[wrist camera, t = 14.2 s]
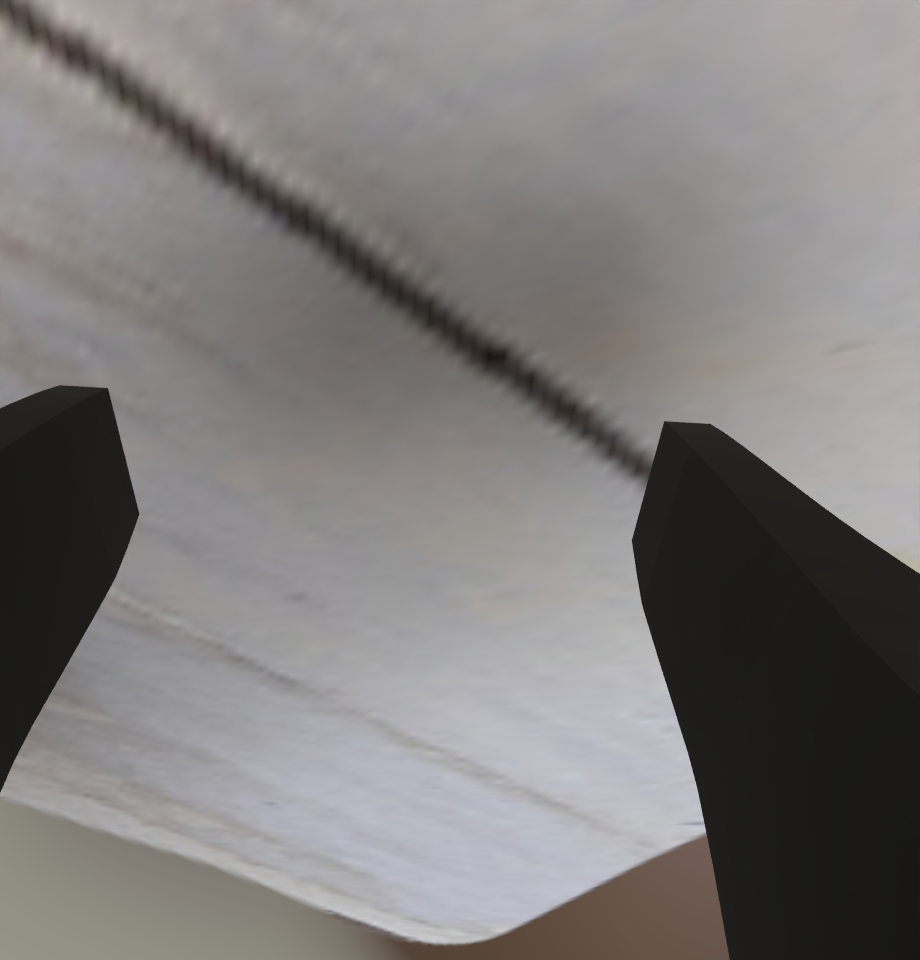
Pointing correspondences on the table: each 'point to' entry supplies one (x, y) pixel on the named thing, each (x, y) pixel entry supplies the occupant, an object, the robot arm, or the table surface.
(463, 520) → the table surface
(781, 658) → the robot arm
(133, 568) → the table surface
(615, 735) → the table surface
